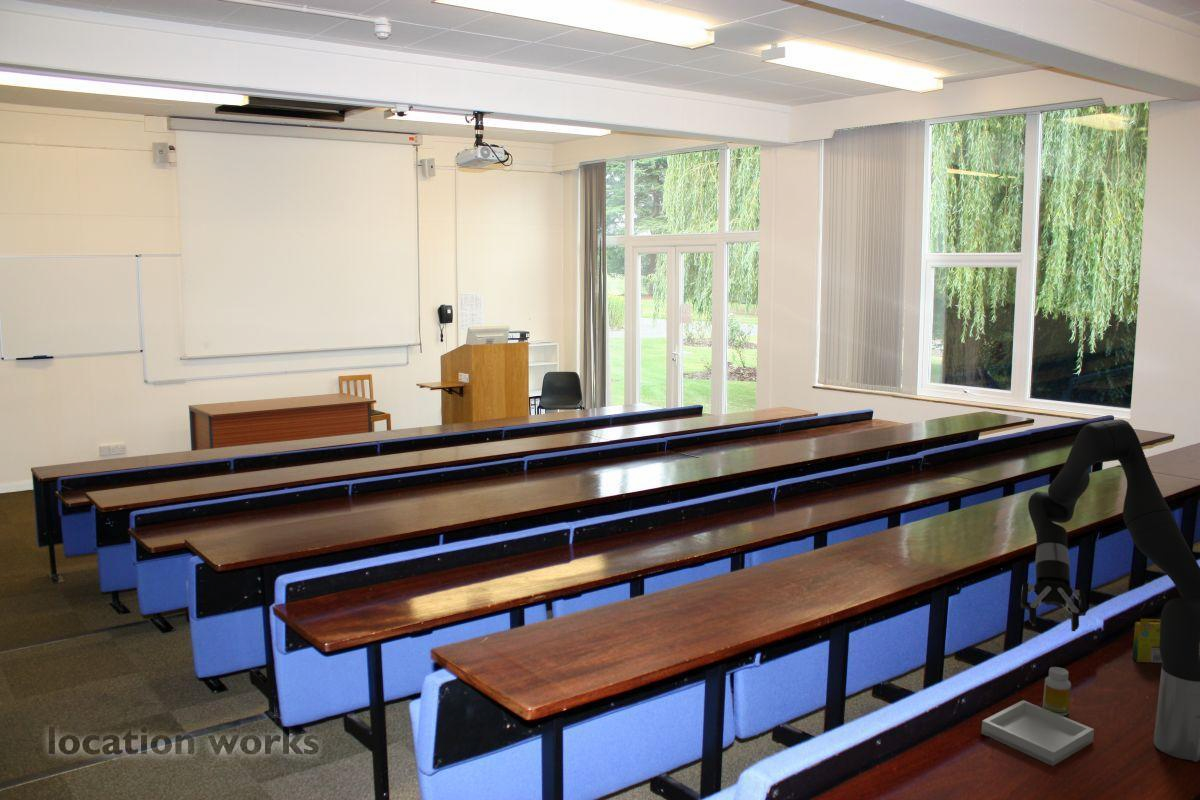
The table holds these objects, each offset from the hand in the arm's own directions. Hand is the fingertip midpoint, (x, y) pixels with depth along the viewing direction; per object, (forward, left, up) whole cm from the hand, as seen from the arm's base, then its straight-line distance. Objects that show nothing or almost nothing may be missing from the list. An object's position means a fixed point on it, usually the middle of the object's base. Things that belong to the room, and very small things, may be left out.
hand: (1054, 627), depth 224 cm
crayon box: (-7, -35, -15) cm, 39 cm away
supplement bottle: (-7, +10, -15) cm, 19 cm away
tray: (-11, +25, -15) cm, 31 cm away
